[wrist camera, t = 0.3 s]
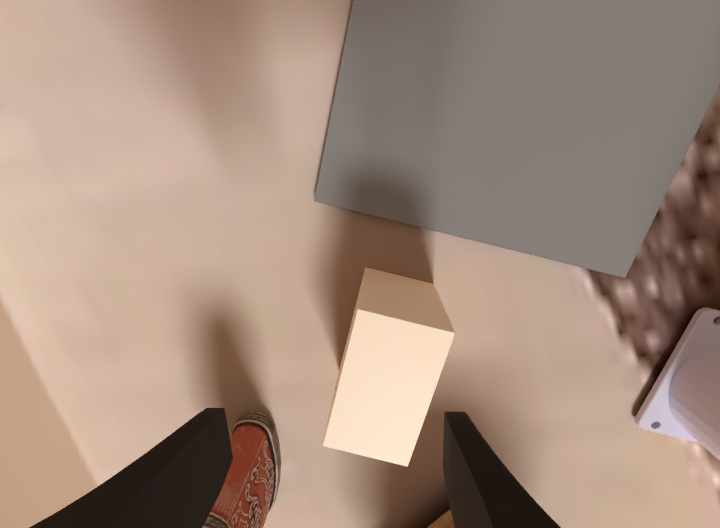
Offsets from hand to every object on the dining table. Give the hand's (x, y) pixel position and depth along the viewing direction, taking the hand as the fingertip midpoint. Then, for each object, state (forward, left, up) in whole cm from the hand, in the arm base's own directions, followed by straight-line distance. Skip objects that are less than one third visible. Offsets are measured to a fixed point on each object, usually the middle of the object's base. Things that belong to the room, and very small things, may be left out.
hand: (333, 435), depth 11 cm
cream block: (-2, +1, -10) cm, 10 cm away
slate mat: (-5, -13, -9) cm, 17 cm away
